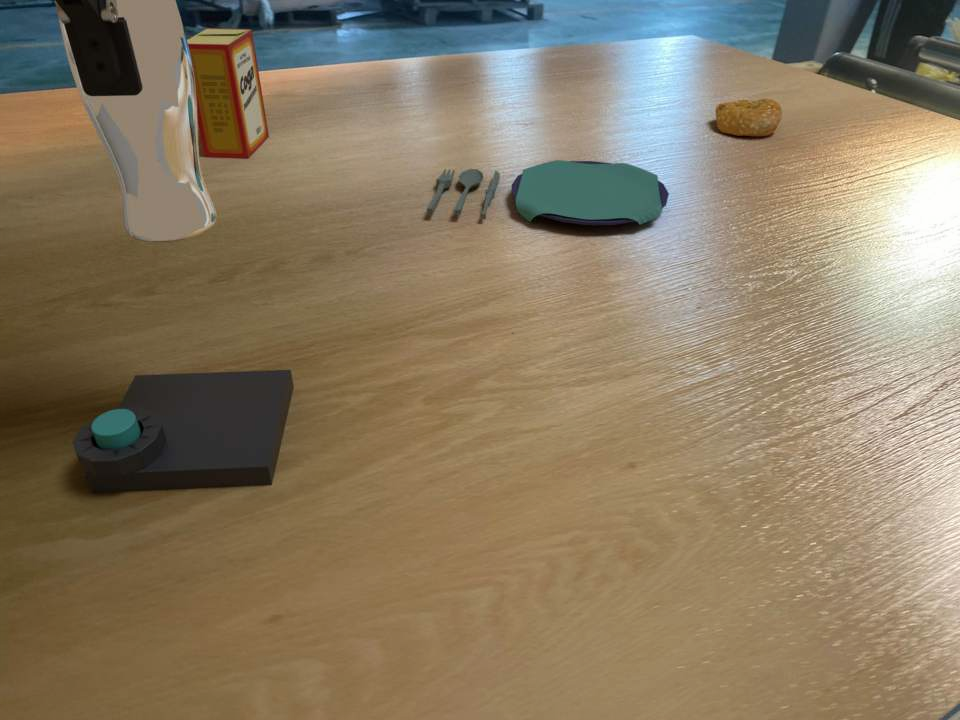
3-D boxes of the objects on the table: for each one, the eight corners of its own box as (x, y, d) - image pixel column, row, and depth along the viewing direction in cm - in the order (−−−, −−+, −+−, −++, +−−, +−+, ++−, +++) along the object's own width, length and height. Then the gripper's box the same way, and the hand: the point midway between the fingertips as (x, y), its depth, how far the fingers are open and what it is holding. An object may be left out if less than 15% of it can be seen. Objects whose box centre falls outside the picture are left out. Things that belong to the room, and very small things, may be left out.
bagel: (750, 115, 127) (756, 86, 124) (792, 136, 118) (799, 105, 116) (698, 121, 124) (703, 91, 122) (737, 143, 116) (743, 112, 113)
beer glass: (143, 202, 56) (82, -22, 48) (236, 204, 56) (192, -21, 47) (102, 245, 51) (24, -1, 42) (206, 247, 50) (149, 0, 42)
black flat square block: (75, 498, 55) (60, 462, 53) (129, 393, 65) (118, 359, 63) (271, 489, 56) (263, 454, 54) (294, 386, 66) (288, 353, 64)
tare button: (91, 452, 55) (84, 436, 54) (105, 425, 57) (99, 409, 56) (133, 450, 55) (128, 434, 54) (146, 423, 57) (140, 407, 56)
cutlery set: (672, 242, 89) (675, 224, 87) (419, 226, 92) (418, 208, 91) (662, 177, 105) (664, 161, 103) (447, 166, 108) (446, 150, 107)
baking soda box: (248, 158, 111) (227, 42, 101) (204, 156, 111) (179, 41, 102) (269, 136, 118) (251, 26, 109) (228, 135, 119) (207, 25, 110)
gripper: (33, -280, 44) (117, 44, 54) (-147, -328, 30) (12, 122, 40) (166, -279, 45) (224, 42, 55) (49, -326, 30) (157, 119, 41)
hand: (134, 73), depth 47 cm, fingers closed on beer glass, 7 cm apart
